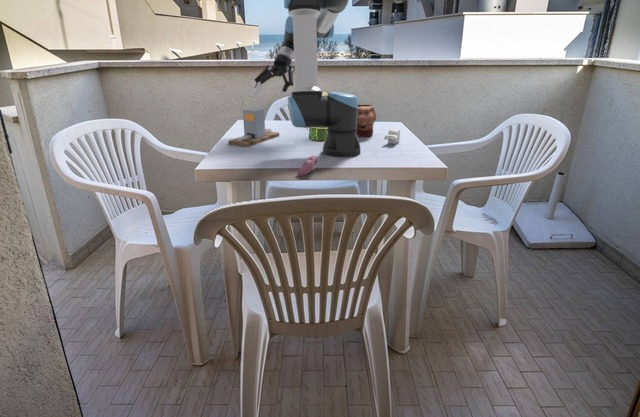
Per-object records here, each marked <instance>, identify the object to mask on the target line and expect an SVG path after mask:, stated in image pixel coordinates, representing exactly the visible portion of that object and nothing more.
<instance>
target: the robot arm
mask: <svg viewBox="0 0 640 417" xmlns="http://www.w3.org/2000/svg"><path fill="white" fill-rule="evenodd" d="M348 3H349V0H283V8H284V9H286V10H288V12H287V14H288V16H287V18H286V19H285V20H286V21H285V25H284V36H283V41H282V44H281V46H280V48H279V49H278V52H277V54H276V56H275V59H274V61H273V65H272V66H270V65H266V67H265V69H263V70H262V71H261V72H260V73H259V74H258V75H257V76H256V77H255V79H254V82H255V83H256V85H255V86H254V90H253V95H254V96H255V97H256V98H258V96H259V94H260V92H261V90H262V87H263V85H264V83H266V82H268V81H269V80H270V79H272V78H274V77H279V78H281V77H282V79H283V81H284V82H283V83H282V85H281V87H280V89H279V92H278V94H277V95H278V97H279V99H280V100H282V99H283V97H284V95H285V93H286V92H287V91H288V89H289V87H293V86H294V84H295V86H294V88H293V89H292V91H291V95H289V96H288V97H287V107H288V113H289V118H290V122H291V124H292V126H293V127H294V128H303V129H306V128H327V130H326V132H327V133H326V136H325V138H324V142H323V145H322V153H323V154H324V155H327V156H329V157H334V158H336V157H337V158H348V157H356V156H359V155H360V154H361V144H360V140H359V138H358V137H359V136H357V114H358V105H359V101H358V97H357V95H355V94H352V93H346V92H340V91H339V92H338V91H328V92H327V95H323V90H322V89H321V88H320V87H319V74H318V70H319V68H318V39H331V38H333V37H334V33H335V22H336V19H337V18H338V16H339V14H340V13H342V12H343V11H344V10H345V9H346V7H347V6H348ZM293 60H294V68H293V66H291V65H292V62H293ZM286 73H287V74H288V79H287V76H286ZM293 73H294V75H293ZM294 82H295V83H294Z"/></svg>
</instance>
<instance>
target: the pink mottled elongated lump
mask: <svg viewBox="0 0 640 417" xmlns="http://www.w3.org/2000/svg"><path fill="white" fill-rule="evenodd" d="M318 161H319V157H318V156H316V155H311V156H308V157H307V159H306V161H304V163H303V164H302V166H301V167H300V168H299V169H298V170H297V171H296V174H297V176H298V177H302V176H303V177H304V176H306V175H310V173H311V172H312V171H314V170H315V169H316V166H315V165H316V164H317V163H318Z"/></svg>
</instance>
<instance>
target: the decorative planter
mask: <svg viewBox="0 0 640 417" xmlns="http://www.w3.org/2000/svg"><path fill="white" fill-rule="evenodd" d="M376 119H377V113H376V110H375V107H374V105H373V104H359V103H358V114H357V137H372V136H373V135H374V124H375V122H376Z"/></svg>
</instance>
